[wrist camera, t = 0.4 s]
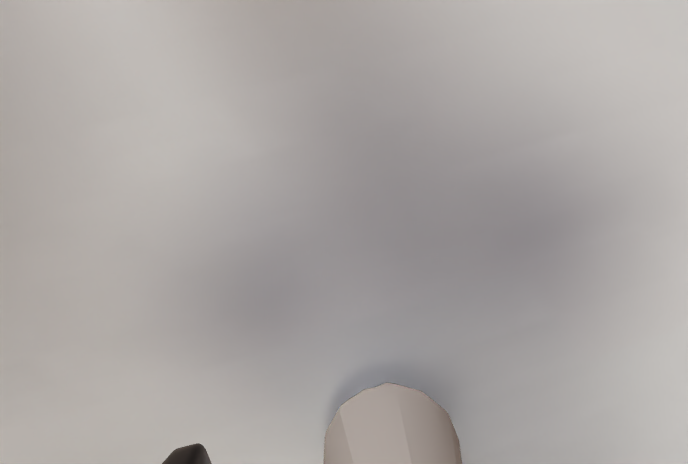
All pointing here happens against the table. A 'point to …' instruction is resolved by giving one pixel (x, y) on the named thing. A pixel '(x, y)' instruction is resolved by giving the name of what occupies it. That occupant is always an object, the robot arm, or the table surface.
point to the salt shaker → (391, 429)
